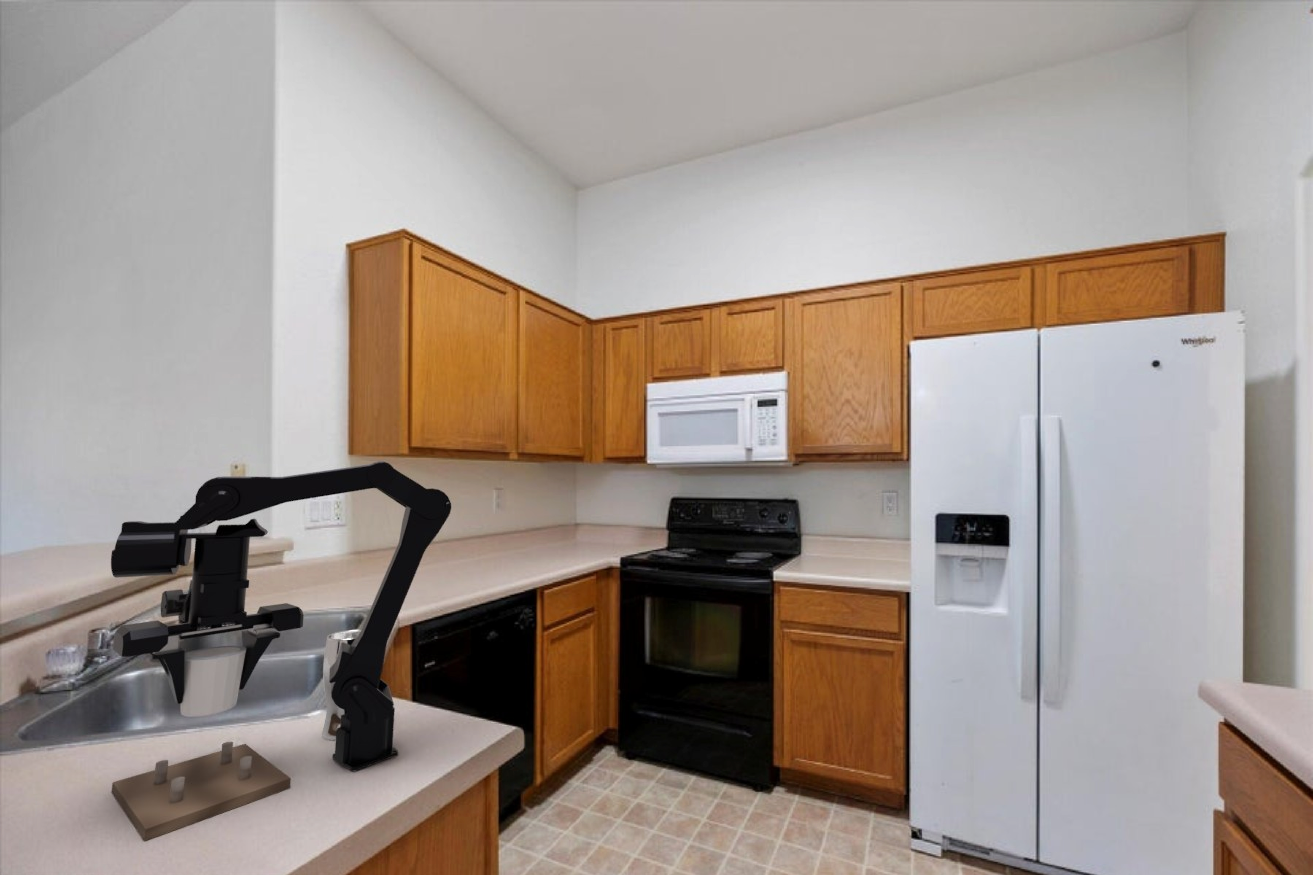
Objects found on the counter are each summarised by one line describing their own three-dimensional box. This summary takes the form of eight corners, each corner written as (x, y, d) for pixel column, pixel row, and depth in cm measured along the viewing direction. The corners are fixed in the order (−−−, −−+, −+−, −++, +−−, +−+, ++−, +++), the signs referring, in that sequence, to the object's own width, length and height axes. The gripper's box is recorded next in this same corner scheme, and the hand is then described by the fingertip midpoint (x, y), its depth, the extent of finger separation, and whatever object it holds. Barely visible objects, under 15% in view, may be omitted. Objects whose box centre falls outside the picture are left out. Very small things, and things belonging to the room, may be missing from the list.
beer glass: (323, 746, 83) (330, 642, 85) (313, 731, 88) (321, 633, 90) (374, 733, 88) (380, 635, 89) (362, 719, 93) (368, 627, 95)
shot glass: (254, 703, 73) (258, 648, 74) (192, 722, 67) (198, 662, 68) (223, 695, 76) (228, 642, 77) (162, 712, 70) (167, 655, 71)
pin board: (244, 752, 81) (246, 726, 81) (289, 787, 71) (292, 758, 72) (111, 792, 70) (114, 761, 70) (144, 840, 60) (148, 805, 61)
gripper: (278, 560, 86) (270, 666, 84) (110, 574, 71) (97, 702, 70) (308, 567, 79) (300, 681, 78) (129, 583, 64) (116, 725, 63)
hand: (210, 695), depth 72 cm, fingers closed on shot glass, 6 cm apart
